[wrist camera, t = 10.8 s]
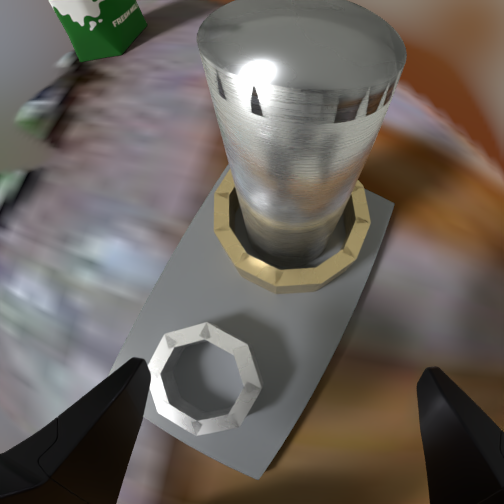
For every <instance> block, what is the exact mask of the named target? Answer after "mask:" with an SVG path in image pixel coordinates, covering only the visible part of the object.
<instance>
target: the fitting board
mask: <svg viewBox="0 0 504 504" xmlns="http://www.w3.org/2000/svg"><path fill="white" fill-rule="evenodd" d="M229 170H230V165H229V164H228V166H227V167H226V169H225V170H224V172H223V173H222V175H221V176H220V178H219V179H218V181H217V182H216V184H215V186H214V187H213V189H212V190H211V192H210V193H209V195H208V197H207V198H206V200H205V201H204V203H203V205H202V206H201V208H200V209H199V211H198V213H197V214H196V216H195V217H194V219H193V221H192V222H191V224H190V226H189V227H188V229H187V231H186V232H185V234H184V236H183V237H182V239H181V241H180V242H179V244H178V246H177V248H176V249H175V251H174V253H173V254H172V256H171V258H170V260H169V261H168V263H167V265H166V267H165V268H164V270H163V272H162V274H161V275H160V277H159V279H158V281H157V283H156V284H155V286H154V288H153V290H152V292H151V293H150V295H149V297H148V299H147V301H146V303H145V304H144V306H143V308H142V310H141V312H140V314H139V316H138V318H137V319H136V321H135V323H134V325H133V327H132V329H131V331H130V333H129V335H128V337H127V339H126V341H125V343H124V345H123V347H122V349H121V351H120V353H119V355H118V357H117V359H116V361H115V363H114V365H113V367H112V369H111V371H110V373H109V375H111V374H112V373H113V372H114V371H116V370H117V369H118V368H119V367H121V366H122V365H123V364H124V363H126V362H127V361H128V360H129V359H130V358H132V357H138V358H143V359H145V360H146V362H147V365H148V364H149V362H150V360H151V358H152V356H153V355H154V353H155V351H156V349H157V347H158V345H159V343H160V341H161V339H162V338H163V336H164V334H166V333H169V332H173V331H177V330H180V329H184V328H188V327H191V326H195V325H198V324H202V323H205V322H208V323H211V324H215V325H216V326H218V327H220V328H222V329H224V330H226V331H227V332H229V333H231V334H233V335H235V336H237V337H239V338H240V339H242V340H244V341H246V342H248V343H250V344H251V346H252V349H253V352H254V355H255V358H256V361H257V365H258V368H259V371H260V374H261V377H262V380H263V387H262V389H261V391H260V393H259V395H258V396H257V398H256V400H255V402H254V403H253V405H252V407H251V409H250V410H249V412H248V414H247V415H246V417H245V419H244V420H243V422H242V424H241V425H240V427H237V428H233V429H228V430H224V431H219V432H214V433H209V434H204V435H198V436H195V435H194V434H192V433H190V432H188V431H187V430H185V429H183V428H182V427H180V426H178V425H177V424H175V423H173V422H172V421H170V420H169V419H167V418H166V417H164V416H162V415H161V414H159V413H158V412H157V409H156V406H155V403H154V400H153V396H152V393H151V390H150V388H149V393H148V397H147V402H146V407H145V411H144V416H143V417H144V418H146V419H147V420H149V421H150V422H152V423H153V424H155V425H156V426H158V427H159V428H161V429H163V430H164V431H166V432H167V433H169V434H170V435H172V436H174V437H175V438H177V439H179V440H180V441H182V442H184V443H185V444H187V445H189V446H191V447H192V448H194V449H196V450H198V451H200V452H201V453H203V454H205V455H207V456H209V457H211V458H213V459H214V460H216V461H218V462H220V463H222V464H224V465H226V466H228V467H230V468H233V469H235V470H237V471H239V472H241V473H243V474H245V475H248V476H250V477H252V478H254V479H257V480H259V479H260V477H261V476H262V474H263V473H264V471H265V470H266V469H267V467H268V466H269V464H270V463H271V461H272V460H273V458H274V457H275V455H276V454H277V452H278V451H279V449H280V447H281V446H282V444H283V443H284V441H285V440H286V438H287V436H288V435H289V433H290V431H291V430H292V428H293V427H294V425H295V423H296V422H297V420H298V418H299V417H300V415H301V413H302V411H303V410H304V408H305V406H306V404H307V403H308V401H309V399H310V397H311V396H312V394H313V392H314V390H315V388H316V387H317V385H318V383H319V381H320V379H321V377H322V375H323V373H324V372H325V370H326V368H327V366H328V364H329V362H330V360H331V358H332V356H333V354H334V352H335V350H336V348H337V346H338V344H339V342H340V340H341V338H342V335H343V333H344V331H345V329H346V327H347V325H348V323H349V320H350V318H351V316H352V314H353V312H354V309H355V307H356V305H357V302H358V300H359V298H360V295H361V293H362V291H363V288H364V286H365V284H366V281H367V279H368V276H369V274H370V271H371V269H372V266H373V264H374V261H375V258H376V256H377V253H378V250H379V248H380V245H381V242H382V240H383V237H384V234H385V231H386V228H387V225H388V223H389V220H390V217H391V214H392V211H393V208H394V204H395V203H393V202H391V201H389V200H387V199H385V198H383V197H381V196H379V195H377V194H375V193H373V192H371V191H368V190H366V189H364V191H365V196H366V200H367V205H368V211H369V216H370V221H371V223H370V226H369V229H368V231H367V234H366V236H365V239H364V241H363V244H362V246H361V249H360V251H359V254H358V256H357V259H356V260H355V261H354V262H353V263H352V264H351V265H350V266H349V268H348V269H347V270H346V271H344V272H343V273H342V274H340V275H339V276H337V277H336V278H334V279H333V280H332V281H330V282H329V283H327V284H326V285H324V286H323V287H321V288H320V289H319V290H317V291H316V292H306V293H290V294H274V293H272V292H270V291H268V290H266V289H264V288H262V287H260V286H258V285H256V284H254V283H252V282H250V281H248V280H246V279H244V278H242V277H241V275H240V274H239V272H238V271H237V269H236V268H235V266H234V264H233V263H232V261H231V260H230V258H229V257H228V255H227V253H226V252H225V250H224V249H223V247H222V245H221V244H220V242H219V240H218V238H217V236H216V234H215V233H214V193H215V191H216V190H217V188H218V187H219V185H220V184H221V182H222V180H223V179H224V177H225V176H226V174H227V173H228V171H229ZM235 236H236V238H237V239H238V241H239V242H240V244H241V245H242V247H243V248H244V250H245V251H246V253H247V254H248V255H250V256H252V257H254V258H256V259H258V260H261V261H263V262H265V263H267V264H269V265H271V266H273V267H275V268H277V269H279V270H285V269H301V268H316V267H317V266H319V265H320V264H322V263H323V262H325V261H326V260H328V259H329V258H331V257H332V256H334V255H335V254H337V253H338V252H339V251H340V249H341V246H342V244H343V242H344V239H345V237H346V232H345V225H344V218H343V213H342V215H341V217H340V219H339V221H338V223H337V225H336V227H335V229H334V231H333V233H332V235H331V237H330V239H329V241H328V243H327V245H326V247H325V249H324V250H323V252H322V253H321V254H320V255H319V256H318V257H317V258H315V259H314V260H313V261H311V262H309V263H307V264H304V265H301V266H297V267H283V266H278V265H275V264H272V263H270V262H268V261H266V260H265V259H263V258H262V257H261V256H260V255H259V254H258V253H257V252H256V251H255V250H254V248H253V247H252V245H251V243H250V241H249V238H248V234H247V230H246V226H245V223H244V219H243V215H242V211H241V207H239V208H238V210H237V212H236V213H235ZM173 374H174V377H175V380H176V384H177V387H178V390H179V393H180V397H181V398H182V399H184V400H185V401H187V402H189V403H190V404H192V405H194V406H195V407H197V408H199V409H201V410H202V411H204V412H211V411H215V410H220V409H224V408H228V407H232V406H233V405H234V404H235V402H236V400H237V398H238V397H239V395H240V393H241V391H242V390H243V388H244V385H243V382H242V379H241V376H240V373H239V370H238V367H237V364H236V360H235V357H234V355H232V354H230V353H228V352H227V351H225V350H223V349H221V348H219V347H218V346H216V345H214V344H212V343H210V342H209V341H206V342H202V343H199V344H195V345H191V346H187V347H185V349H184V351H183V353H182V355H181V356H180V358H179V360H178V362H177V364H176V366H175V368H174V369H173ZM109 375H108V376H109Z"/></svg>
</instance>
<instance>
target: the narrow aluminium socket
mask: <svg viewBox="0 0 504 504" xmlns="http://www.w3.org/2000/svg"><path fill="white" fill-rule="evenodd" d="M206 341H209V342H210V343H212V344H214V345H216V346H218V347H219V348H221V349H223V350H225V351H227V352H228V353H230V354H232V355H234V357H235V360H236V364H237V367H238V370H239V373H240V376H241V379H242V382H243V385H244V388H243V390H242V391H241V393H240V395H239V397H238V398H237V400H236V402H235V404H234V405H233V406H232V407H228V408H224V409H220V410H215V411H211V412H204V411H202V410H201V409H199V408H197V407H195V406H194V405H192V404H190V403H189V402H187V401H185V400H184V399H182V398H181V397H180V393H179V390H178V387H177V384H176V380H175V377H174V374H173V369H174V368H175V366H176V364H177V362H178V360H179V358H180V356H181V355H182V353H183V351H184V349H185V347H187V346H191V345H195V344H199V343H202V342H206ZM148 368H149V370H150V373H151V384H150V390H151V393H152V396H153V400H154V403H155V406H156V409H157V412H158V413H159V414H161V415H162V416H164V417H166V418H167V419H169V420H170V421H172V422H173V423H175V424H177V425H178V426H180V427H182V428H183V429H185V430H187V431H188V432H190V433H192V434H194V435H195V436H198V435H204V434H209V433H214V432H219V431H224V430H228V429H233V428H237V427H240V425H241V424H242V422H243V420H244V419H245V417H246V415H247V414H248V412H249V410H250V409H251V407H252V405H253V403H254V402H255V400H256V398H257V396H258V395H259V393H260V391H261V389H262V387H263V380H262V377H261V374H260V371H259V368H258V365H257V361H256V358H255V355H254V352H253V349H252V346H251V344H250V343H248V342H246V341H244V340H242V339H240V338H239V337H237V336H235V335H233V334H231V333H229V332H227V331H226V330H224V329H222V328H220V327H218V326H216V325H215V324H211V323H208V322H205V323H202V324H198V325H195V326H191V327H188V328H184V329H180V330H177V331H173V332H169V333H166V334H164V336H163V338H162V339H161V341H160V343H159V345H158V347H157V349H156V351H155V353H154V355H153V356H152V358H151V360H150V362H149V364H148Z"/></svg>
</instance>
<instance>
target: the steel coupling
mask: <svg viewBox="0 0 504 504" xmlns="http://www.w3.org/2000/svg"><path fill="white" fill-rule="evenodd" d="M197 43H198V48H199V51H200V55H201V59H202V63H203V67H204V70H205V74H206V78H207V82H208V86H209V89H210V93H211V97H212V101H213V105H214V108H215V112H216V116H217V120H218V124H219V127H220V131H221V135H222V139H223V143H224V146H225V150H226V154H227V158H228V162H229V165H230V169H231V173H232V177H233V181H234V184H235V188H236V192H237V196H238V200H239V204H240V207H241V211H242V215H243V219H244V223H245V226H246V230H247V234H248V238H249V241H250V243H251V245H252V247H253V248H254V250H255V251H256V252H257V253H258V254H259V255H260V256H261V257H262V258H263V259H265V260H266V261H268V262H270V263H272V264H275V265H278V266H283V267H297V266H301V265H304V264H307V263H309V262H311V261H313V260H314V259H315V258H317V257H318V256H319V255H320V254H321V253H322V252H323V250H324V249H325V247H326V245H327V243H328V241H329V239H330V237H331V235H332V233H333V231H334V229H335V227H336V225H337V223H338V221H339V219H340V217H341V215H342V213H343V210H344V208H345V206H346V204H347V202H348V200H349V198H350V195H351V193H352V191H353V189H354V187H355V185H356V182H357V180H358V178H359V176H360V173H361V171H362V169H363V167H364V164H365V162H366V160H367V158H368V155H369V153H370V151H371V148H372V146H373V144H374V141H375V139H376V137H377V134H378V132H379V129H380V127H381V124H382V122H383V120H384V117H385V115H386V112H387V110H388V107H389V105H390V102H391V99H392V97H393V94H394V92H395V89H396V86H397V84H398V81H399V78H400V76H401V73H402V70H403V67H404V65H405V62H406V56H407V54H406V48H405V45H404V43H403V41H402V39H401V37H400V36H399V34H398V33H397V32H396V31H395V30H394V28H393V27H391V26H390V25H389V24H388V23H387V22H386V21H385V20H383V19H382V18H381V17H379V16H378V15H376V14H374V13H373V12H371V11H369V10H368V9H366V8H364V7H362V6H359V5H357V4H355V3H352V2H350V1H347V0H235V1H232V2H230V3H228V4H226V5H224V6H222V7H220V8H219V9H217V10H216V11H214V12H213V13H212V14H210V15H209V16H208V17H207V18H206V19H205V20H204V21H203V23H202V24H201V26H200V28H199V30H198V33H197Z"/></svg>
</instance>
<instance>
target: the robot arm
mask: <svg viewBox="0 0 504 504" xmlns="http://www.w3.org/2000/svg"><path fill="white" fill-rule="evenodd" d="M150 384H151V373H150V370H149V368H148V365H147V362H146V360H145V359H143V358H138V357H132V358H130V359H129V360H128V361H127V362H126V363H124V364H123V365H122V366H121V367H119V368H118V369H117V370H116V371H114V372H113V373H112V374H111V375H109V376H108V377H107V378H106V379H104V380H103V381H102V382H101V383H99V384H98V385H97V386H96V387H94V388H93V389H92V390H91V391H89V392H88V393H87V394H86V395H84V396H83V397H82V398H81V399H79V400H78V401H77V402H76V403H74V404H73V405H72V406H71V407H69V408H68V409H67V410H65V411H64V412H63V413H62V414H60V415H59V416H58V418H55V419H54V420H53V421H52V422H50V423H49V424H48V425H46V426H45V427H44V428H42V429H41V430H40V431H38V432H37V433H35V434H34V435H32V436H31V437H29V438H27V439H26V440H24V441H22V442H21V443H19V444H18V445H16V446H14V447H13V448H11V449H9V450H8V451H6V452H4V453H2V454H0V504H116V503H117V499H118V496H119V493H120V489H121V486H122V483H123V479H124V476H125V473H126V470H127V466H128V463H129V460H130V457H131V454H132V451H133V448H134V444H135V441H136V438H137V435H138V432H139V429H140V426H141V423H142V420H143V416H144V411H145V407H146V402H147V397H148V393H149V388H150ZM417 397H418V408H419V421H420V430H421V436H422V442H423V449H424V455H425V462H426V470H427V478H428V487H429V498H430V504H504V432H503V431H502V430H501V429H500V428H499V427H498V426H497V425H496V424H495V423H494V422H493V421H492V420H491V419H490V418H489V417H488V415H487V414H486V413H485V412H484V411H483V410H482V409H481V408H480V407H479V406H478V405H477V404H476V403H475V402H474V401H473V400H472V399H471V398H470V397H469V396H468V395H467V394H466V393H465V392H464V391H463V390H462V389H461V388H460V387H458V386H457V385H456V384H455V383H454V382H453V381H452V380H451V379H450V378H449V377H448V376H447V375H446V374H445V373H444V372H443V371H442V370H441V369H440V368H439V367H428V368H426V369H425V370H424V372H423V374H422V376H421V378H420V379H419V381H418V383H417Z"/></svg>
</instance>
